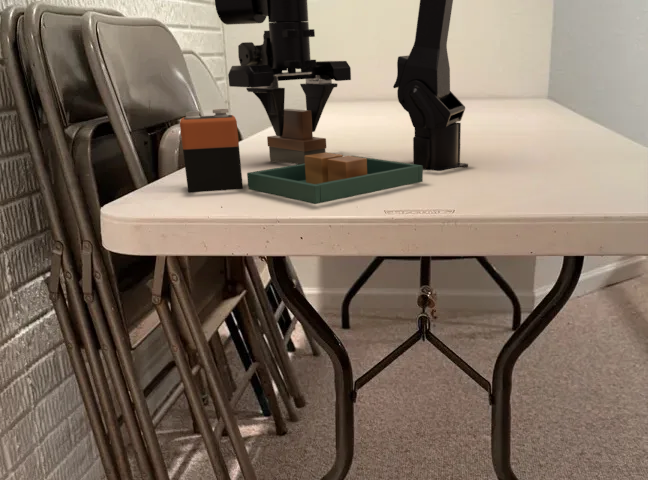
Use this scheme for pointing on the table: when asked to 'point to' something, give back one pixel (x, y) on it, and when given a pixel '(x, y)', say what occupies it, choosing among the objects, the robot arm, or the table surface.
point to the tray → (295, 187)
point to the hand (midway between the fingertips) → (295, 133)
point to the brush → (295, 139)
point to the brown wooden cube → (318, 167)
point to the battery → (211, 151)
